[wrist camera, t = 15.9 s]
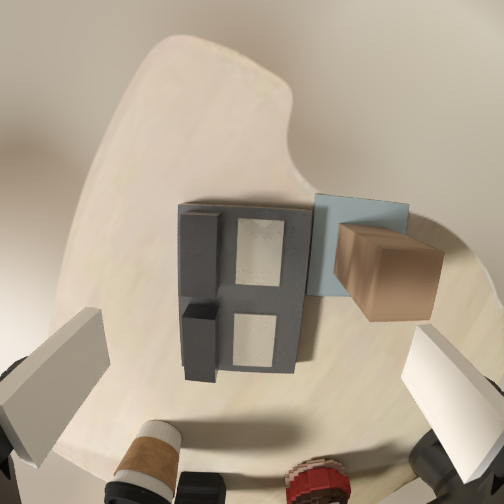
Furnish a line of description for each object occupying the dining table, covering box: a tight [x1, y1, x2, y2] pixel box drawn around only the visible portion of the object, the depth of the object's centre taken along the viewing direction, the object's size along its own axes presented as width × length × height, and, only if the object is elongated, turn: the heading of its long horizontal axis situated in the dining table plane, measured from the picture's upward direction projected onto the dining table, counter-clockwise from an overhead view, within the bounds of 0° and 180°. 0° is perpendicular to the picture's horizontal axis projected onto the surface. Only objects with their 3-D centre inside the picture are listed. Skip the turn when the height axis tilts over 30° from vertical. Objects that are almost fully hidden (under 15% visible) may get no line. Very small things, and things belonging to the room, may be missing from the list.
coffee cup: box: [104, 420, 182, 504], centre depth 29 cm, size 8×8×15 cm
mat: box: [306, 194, 409, 297], centre depth 29 cm, size 10×10×1 cm
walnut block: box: [333, 223, 444, 322], centre depth 24 cm, size 5×5×11 cm
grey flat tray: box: [178, 203, 312, 383], centre depth 28 cm, size 17×12×5 cm
